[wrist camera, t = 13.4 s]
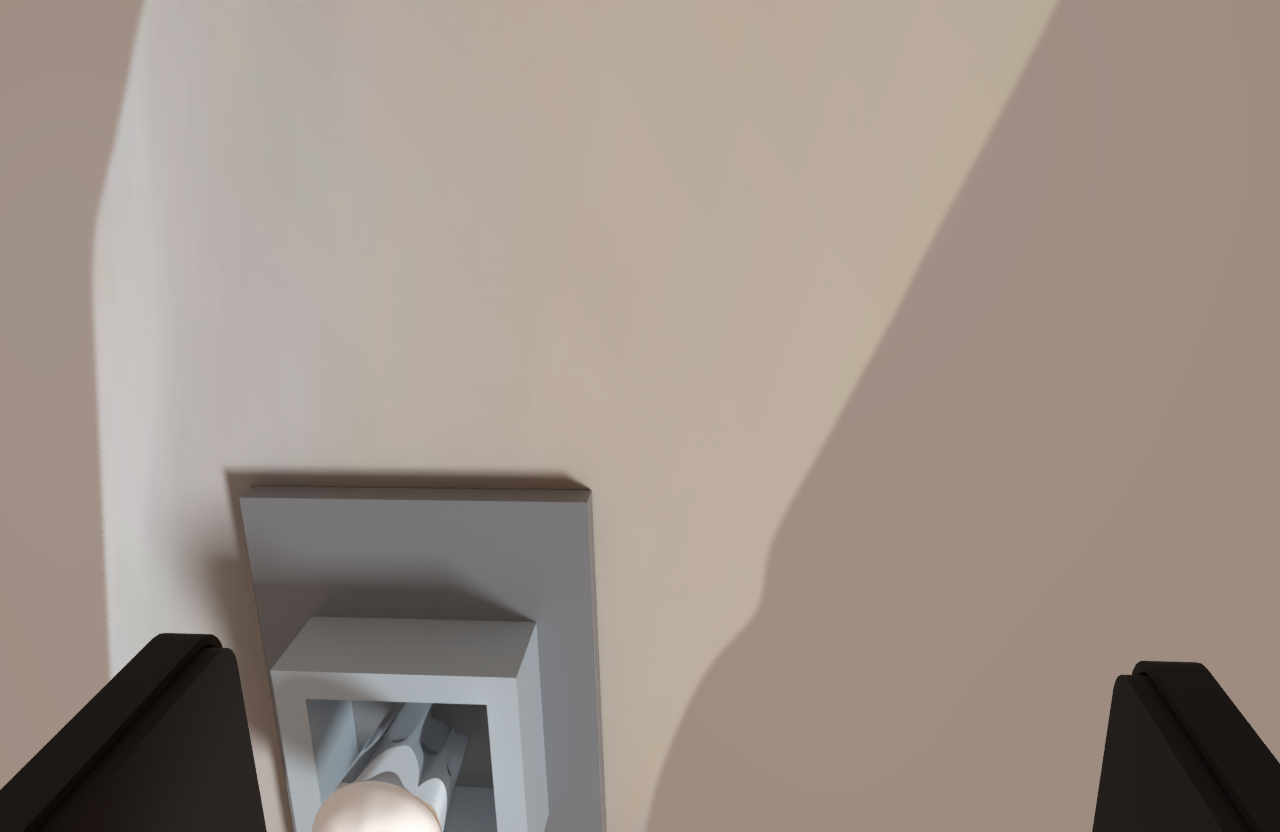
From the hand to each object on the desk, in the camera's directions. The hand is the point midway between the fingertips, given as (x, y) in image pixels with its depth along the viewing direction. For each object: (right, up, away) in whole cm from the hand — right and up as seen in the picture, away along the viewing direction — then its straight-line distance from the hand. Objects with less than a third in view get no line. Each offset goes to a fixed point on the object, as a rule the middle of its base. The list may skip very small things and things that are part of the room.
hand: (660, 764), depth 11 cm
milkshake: (-8, -9, +33) cm, 35 cm away
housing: (-9, -9, +34) cm, 36 cm away
